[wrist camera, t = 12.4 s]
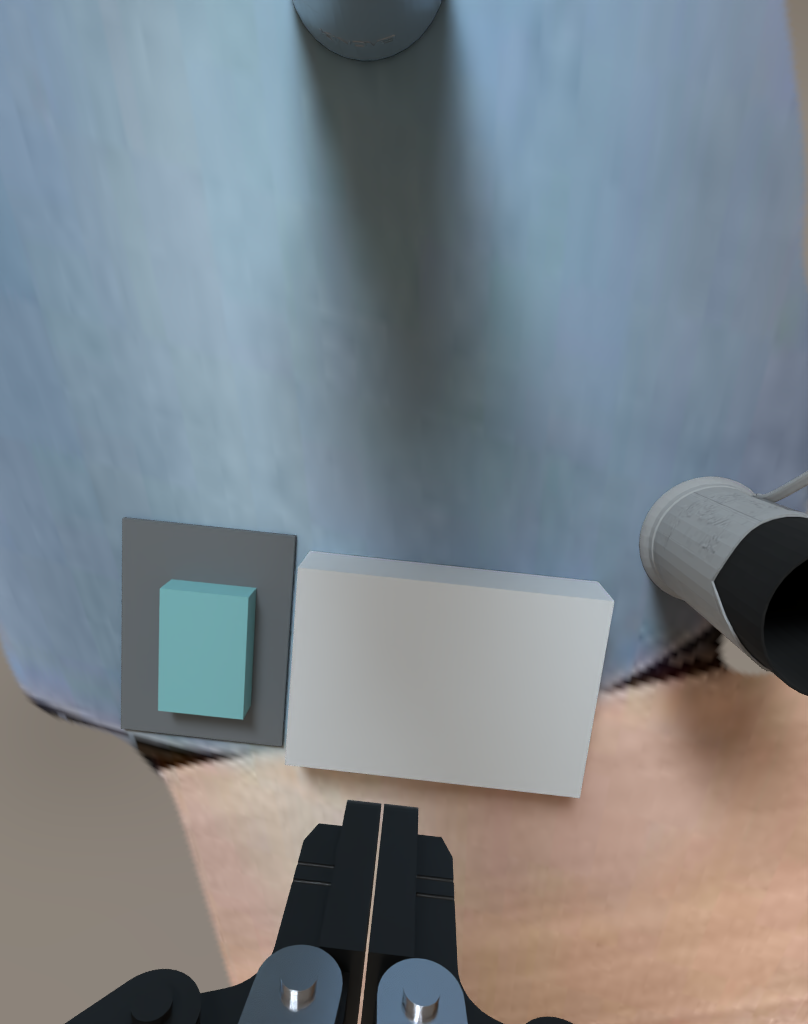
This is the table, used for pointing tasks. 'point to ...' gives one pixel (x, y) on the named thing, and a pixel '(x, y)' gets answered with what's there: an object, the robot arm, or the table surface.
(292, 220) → the table surface
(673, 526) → the glass holder
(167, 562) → the mat
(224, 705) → the teal rectangular box
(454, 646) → the plate
